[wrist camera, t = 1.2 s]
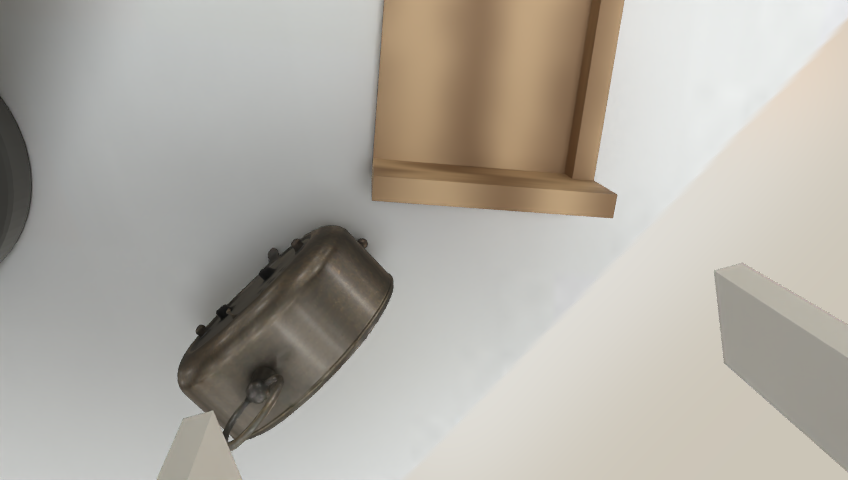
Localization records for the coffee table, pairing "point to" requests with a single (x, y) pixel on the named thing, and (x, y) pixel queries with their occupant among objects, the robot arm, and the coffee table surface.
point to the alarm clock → (285, 332)
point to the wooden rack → (495, 104)
